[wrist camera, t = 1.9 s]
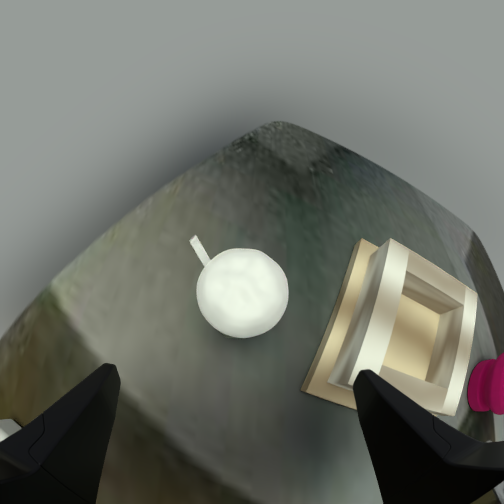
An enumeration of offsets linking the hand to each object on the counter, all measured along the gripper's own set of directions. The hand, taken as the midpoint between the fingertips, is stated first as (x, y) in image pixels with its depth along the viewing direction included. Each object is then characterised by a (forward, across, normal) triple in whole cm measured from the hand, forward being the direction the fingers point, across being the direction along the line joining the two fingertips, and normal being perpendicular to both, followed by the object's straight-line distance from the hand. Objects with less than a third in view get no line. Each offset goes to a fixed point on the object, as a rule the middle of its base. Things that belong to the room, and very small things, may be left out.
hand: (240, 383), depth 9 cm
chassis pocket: (+9, -15, +7) cm, 19 cm away
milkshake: (+11, 0, +5) cm, 12 cm away
